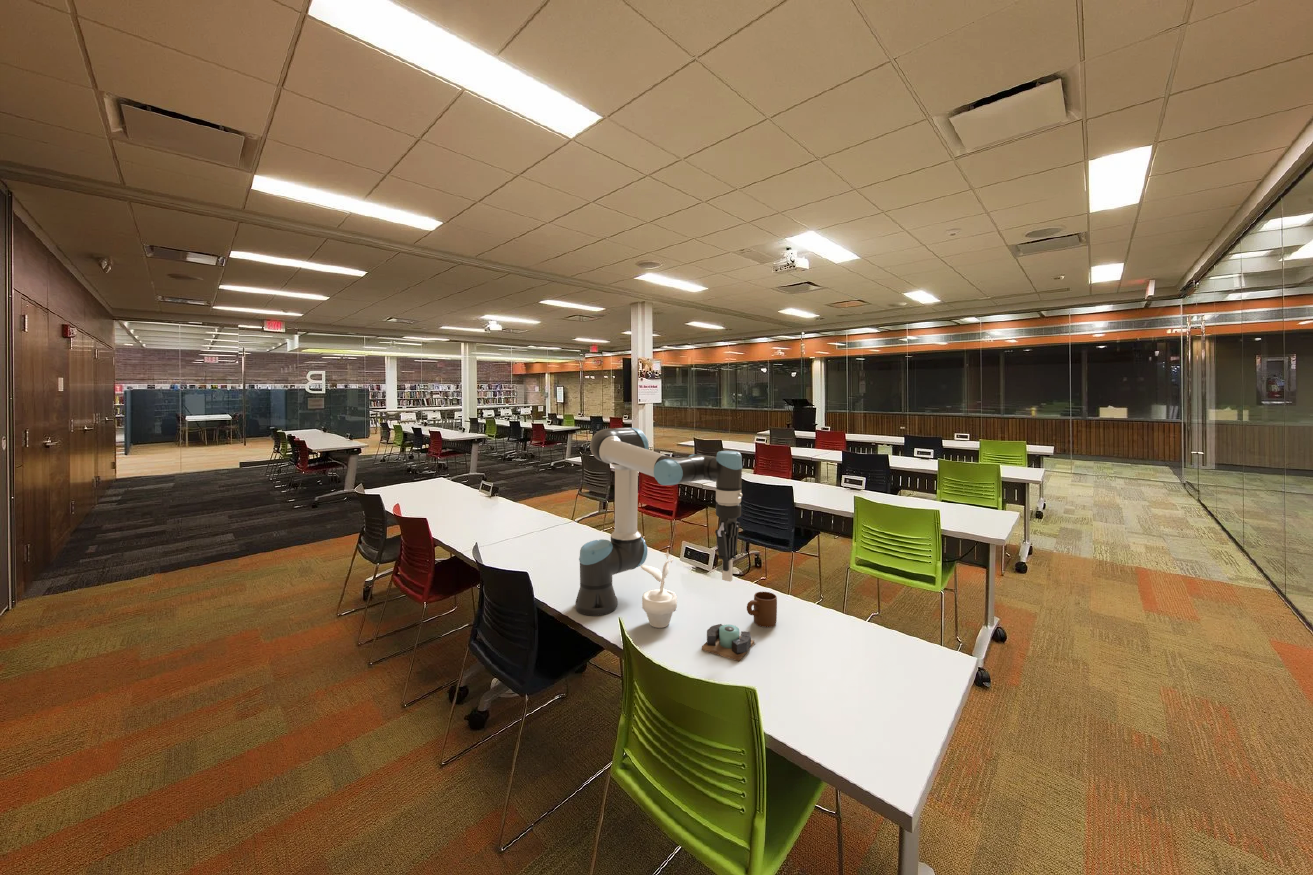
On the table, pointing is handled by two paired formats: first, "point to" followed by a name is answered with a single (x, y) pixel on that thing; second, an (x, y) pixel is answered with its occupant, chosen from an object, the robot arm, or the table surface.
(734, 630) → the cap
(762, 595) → the mug
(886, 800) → the table surface
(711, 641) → the pair of curved blocks
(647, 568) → the potted plant
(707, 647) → the board
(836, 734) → the table surface
